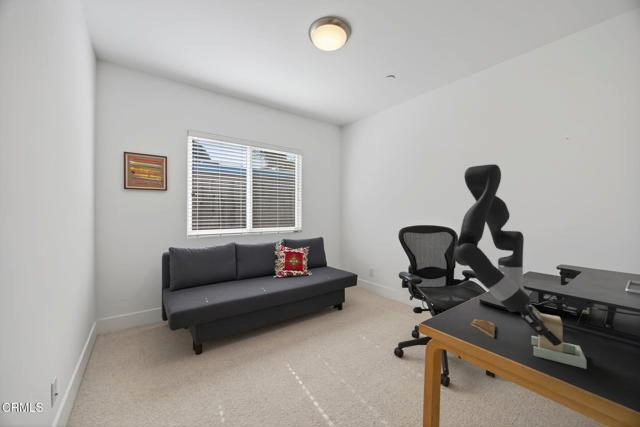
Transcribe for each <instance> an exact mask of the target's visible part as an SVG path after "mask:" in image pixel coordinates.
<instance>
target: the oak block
mask: <svg viewBox="0 0 640 427" xmlns="http://www.w3.org/2000/svg"><path fill="white" fill-rule="evenodd" d="M541 313H542V312H540V314H538V315H539V317H540V318H541V319H542V320H543V321H544V322H545V323H544V325H545V326H546V327H547V328H548V329H549V330H550V331H551V332H552V333H553V334H554V335H555V336H556V337H557V338H558V339H559V340H561V344H559V345H557V346H554V345H553V344H552V343H551V342H550V341H549V340H548V339H546V338H545V337H544V336H543V335H542V336H540V335H539V334H538V333H537V337H538V346H537V347H540V348H544V349H549V350H553V351H557V352H561V353H564V352H563V342H564V341H563V340H564V339H563V337H564V336H563V332H564V331H563V330H564V329H563V321H562V319H561V317H560V316H558V315H551V314H547V313H542V314H541ZM538 328H539V329H540V330H541V329H543V328H542V327H540V326H539V327H538Z"/></svg>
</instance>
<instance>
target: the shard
mask: <svg viewBox="0 0 640 427" xmlns="http://www.w3.org/2000/svg"><path fill="white" fill-rule="evenodd" d="M470 326H471V327H474V328H475V329H477V330H479V331H481V333H482V332H483V333H484V334H486V335H487V336H490V337H491V338H495V331H496V325H495V323H493V322H491V321H488V320H484V319H478V318H474V319H473V321H472V322H470Z"/></svg>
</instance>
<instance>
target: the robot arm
mask: <svg viewBox="0 0 640 427" xmlns="http://www.w3.org/2000/svg"><path fill="white" fill-rule="evenodd" d="M501 179H502V171H501V168H500V166H499V165H498V164H496V163H495V164H493V163H492V164H484V165H483V164H482V165H474V166H469V167H467V169H466V170H465V172H464V181H465V184H466V187H467V189H468V190H469V193H470V194H471V196H472V197H473V198H474V200H475V203H473V205H472V206H470V208H469V209H468V210H467V211H466V213H465V214H464V216H463V219H462V224H461V229H460V233H459V236H458V239H457V242H456V244H455V246H454V250H453V259H454V260H455V262H456V263H457V264H458V265H460V266H464V267H467V266H468V267H469V268H470V269H471V270H472V271H473V273H474V277H475V278H476V279H477V280H478V282H480V283H481V285H483V286H484V287H485V288H486V289H487V290H488V291H489V292H490V293H491V295H492V296H493V297H494V298H495V299H496V300H497V301H498V302H500V303H501V304H502V306H504V307H505V308H506V309H507V310H508V312H510V313H515V312H519V313H520V316H521V317H522V320H523V321H524V322H525V323H527V325H528V326H529V327H531V328H532V329H533V330H534V331H535V332H536V333H537V335H538V334H539V335H540V336H542V335H543V336H544V337H545V338H546V339H548V340H549V341H550V342H551V343H552V344H553V345H554V346H557V345H559V344H561V340H559V339H558V338H557V337H556V336H555V335H554V334H553V333H552V332H551V331H550V330H549V329H548V328H547V327H546V326H545V325H544V323H545V322H544V321H543V320H542V319H541V318H540V317H539V315H538V314H540V313H541V314H543V313H542V312H540V311H539V309H537V308H536V307H535V306H534V305H533V304H531V300H532V299H531V296H530V295H528V293H526V292H525V291H524V266H523V264H524V262H523V261H524V244H525V243H524V241H525V240H524V235H523V233H522V231H519V230H516V231H515V230H503V227H504V226H505V225H506V224H507V223H508V221H509V220H510V211H509V209H508V207H507V204H506V202H505V201H504V200H503V199H501V197H498V196H497V192H498V190H499V187H500V185H501V181H502V180H501ZM486 224H487V227H488V229H489V231H490V236H491V238H492V242H493V245H494V247H495V248H496V249H498V250H500V251H507V252H508V251H509V252H512V254H511V255H507V256H501V257H499V258H497V259H498V260H497V267H496V266H495V265H494V264H493V263H492V261H491V260H490V259H489V258H488V256H487V255H486V254H485V252H483V250H481V248H480V247H479V242H480V241H481V240H482V238H483V235H484V231H485V227H486ZM539 326H540V327H542V328H543V329H541V330H540V329H539V328H538V327H539Z"/></svg>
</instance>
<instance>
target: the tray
mask: <svg viewBox="0 0 640 427" xmlns="http://www.w3.org/2000/svg"><path fill="white" fill-rule="evenodd" d="M531 345H532V346H533V356H534V357H536V358H537V357H538V358H541V359H545V360H549V361H554V362H558V363H560V364H561V363H562V364H565V365H570V366H573V367H579V368H581V369H585V370H587V359H586V357H585V354H584V352H583V351H582V349H581V346H580V345H579V344H577V345H576V344H572V343H567V342H564V341H563V353H561V352H557V351H553V350H549V349H544V348H540V347H538V336H535V335H531Z"/></svg>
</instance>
